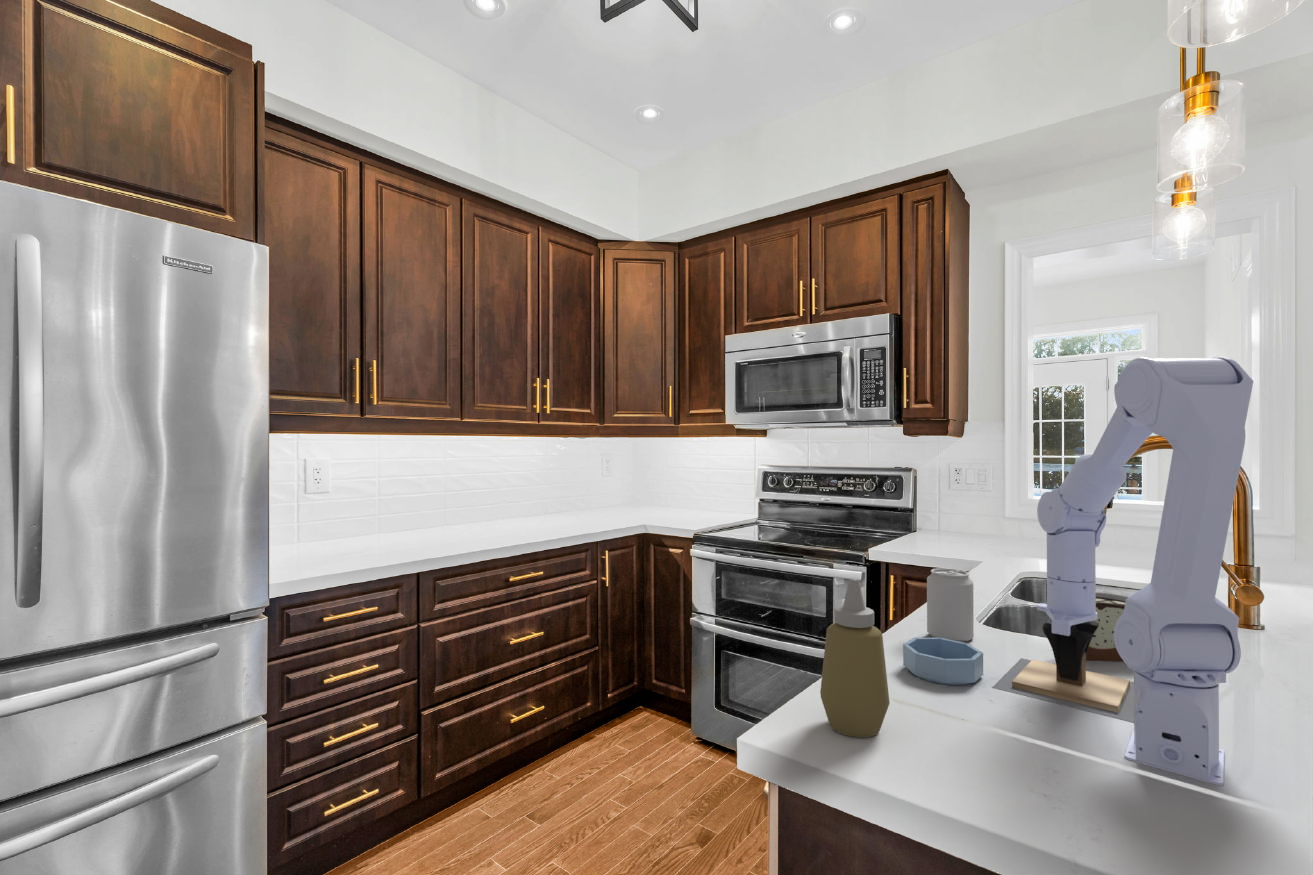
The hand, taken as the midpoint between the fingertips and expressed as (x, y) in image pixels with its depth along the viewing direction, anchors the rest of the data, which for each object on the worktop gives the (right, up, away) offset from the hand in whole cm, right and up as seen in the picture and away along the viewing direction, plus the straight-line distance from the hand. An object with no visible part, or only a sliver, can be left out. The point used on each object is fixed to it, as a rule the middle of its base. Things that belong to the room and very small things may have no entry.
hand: (1071, 674), depth 87 cm
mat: (0, -2, 0) cm, 2 cm away
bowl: (-16, -2, +5) cm, 17 cm away
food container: (+12, -2, +13) cm, 18 cm away
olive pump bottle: (-34, -2, -12) cm, 36 cm away
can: (-6, -2, +22) cm, 23 cm away
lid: (0, -2, 0) cm, 2 cm away
